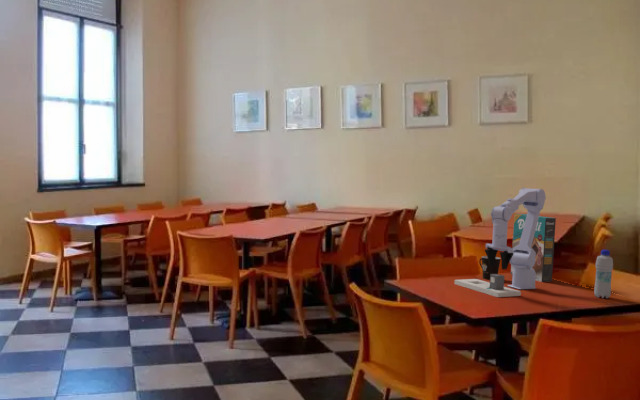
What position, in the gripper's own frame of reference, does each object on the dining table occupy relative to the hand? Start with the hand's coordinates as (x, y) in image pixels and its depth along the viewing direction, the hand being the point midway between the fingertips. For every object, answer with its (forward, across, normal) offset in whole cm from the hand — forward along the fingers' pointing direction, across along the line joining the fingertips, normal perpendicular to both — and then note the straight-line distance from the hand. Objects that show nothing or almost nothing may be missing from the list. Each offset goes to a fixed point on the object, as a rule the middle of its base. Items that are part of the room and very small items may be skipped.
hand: (498, 267), depth 257 cm
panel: (+10, -6, -1) cm, 12 cm away
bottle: (+11, +20, +39) cm, 45 cm away
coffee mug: (+11, -28, +20) cm, 36 cm away
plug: (+10, +1, -1) cm, 10 cm away
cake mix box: (+11, -25, +43) cm, 51 cm away
